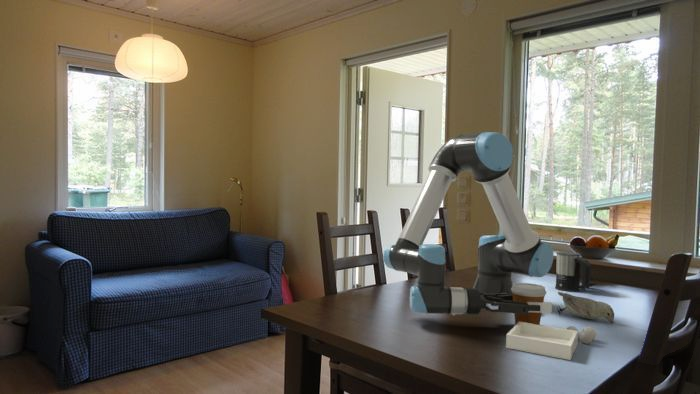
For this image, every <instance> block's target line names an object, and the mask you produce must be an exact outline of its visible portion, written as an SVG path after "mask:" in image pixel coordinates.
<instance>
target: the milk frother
mask: <svg viewBox="0 0 700 394" xmlns="http://www.w3.org/2000/svg"><path fill="white" fill-rule="evenodd" d="M555 254H556V270H555V271H556V273H555V274H556V275H555V286H554V288H555V289H556V290H559V291H567V292H580V290H581V289H584V288H586V289H589V288H590V287H593V286H596V285H598V281H596V282H595V281H593V282H592V281H590V280H591V270H592V268H591V267H592V266H591V263H590V261H588V260H587V259H586V258H583V257H581V255H582V254H581V253H578V252H568V251H567V252H566V251H558V252H555ZM581 266H582V277H581ZM580 279H581V281H580ZM580 282H581V283H580Z"/></svg>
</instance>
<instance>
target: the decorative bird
mask: <svg viewBox="0 0 700 394" xmlns="http://www.w3.org/2000/svg"><path fill="white" fill-rule="evenodd" d="M557 294H558V295H559V296H560V297H562V301H563V304H564V308H561V306H560V305H558V308H557V313H558V316H561V313H563V311H565V310H567V311H568V312H569V313H571V314H573V315H575V316H576V317H580V318H583V319H587V320H597V319H598V320H599V319H601V318H602V319H605V320H607V321H608V322H609V323H611V324H614V321H615V312H614V309H613V308H612V306H611V305H609V304H608V303H607V302H604V301H597V300H594V299H591V298H587V297H584V296H583V297H582V296H576V295H572V294H570V293H567V292H565V293H564V292H561V291H557Z"/></svg>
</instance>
